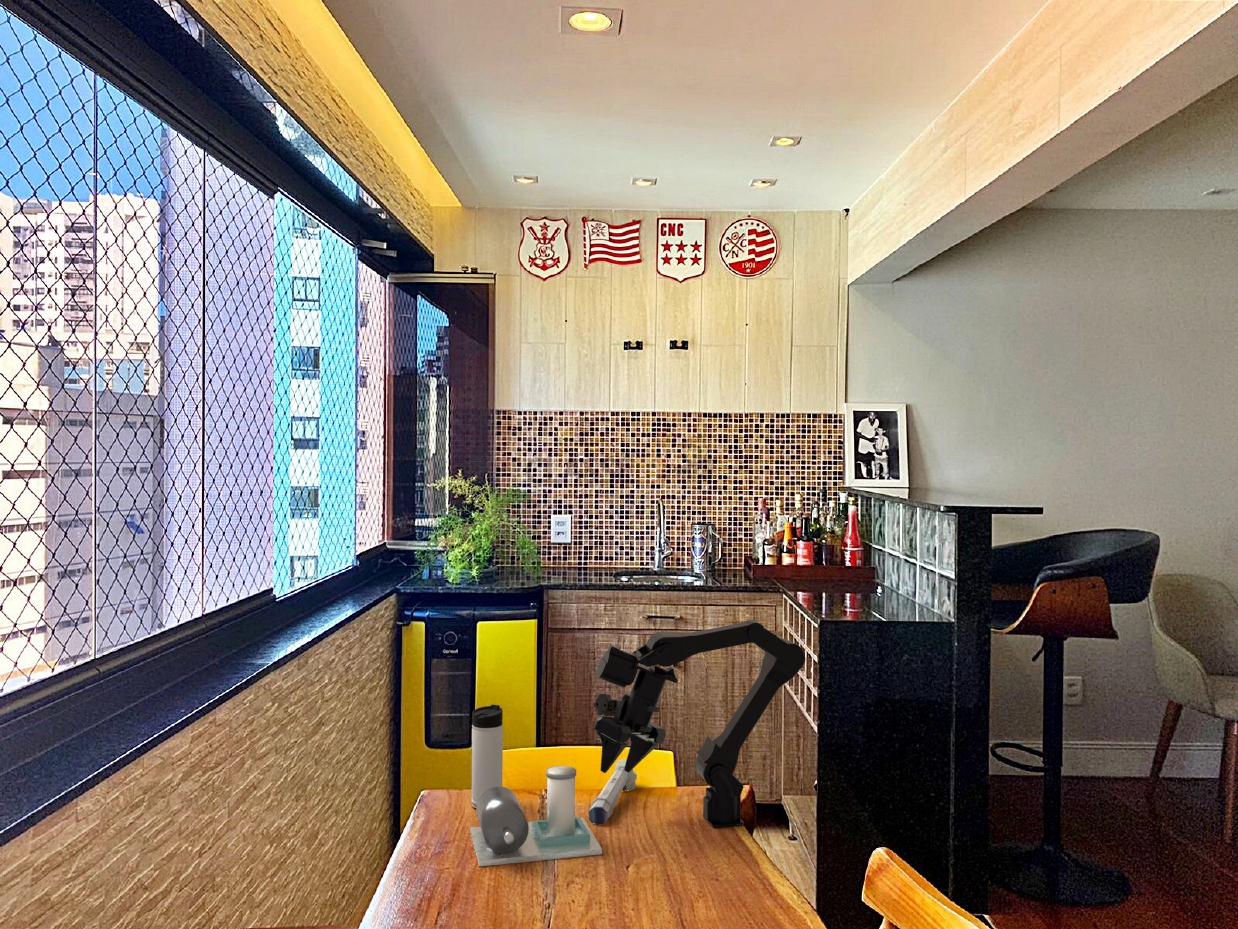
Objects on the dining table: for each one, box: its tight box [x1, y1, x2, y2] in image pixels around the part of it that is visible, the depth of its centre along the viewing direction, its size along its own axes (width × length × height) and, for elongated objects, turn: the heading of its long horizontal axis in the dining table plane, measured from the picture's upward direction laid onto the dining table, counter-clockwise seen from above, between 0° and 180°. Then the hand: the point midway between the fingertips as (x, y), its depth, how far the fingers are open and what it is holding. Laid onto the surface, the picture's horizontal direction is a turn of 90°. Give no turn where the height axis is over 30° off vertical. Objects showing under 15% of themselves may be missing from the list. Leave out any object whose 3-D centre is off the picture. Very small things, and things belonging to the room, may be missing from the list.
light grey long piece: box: [587, 758, 638, 825], centre depth 197 cm, size 5×7×25 cm
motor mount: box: [469, 786, 603, 867], centre depth 175 cm, size 22×18×9 cm
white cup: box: [545, 765, 577, 837], centre depth 177 cm, size 6×6×12 cm
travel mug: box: [471, 704, 504, 807], centre depth 196 cm, size 6×7×20 cm
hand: (614, 772), depth 184 cm, fingers open, 9 cm apart
